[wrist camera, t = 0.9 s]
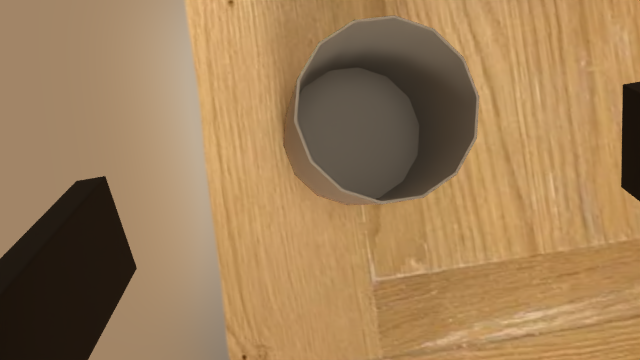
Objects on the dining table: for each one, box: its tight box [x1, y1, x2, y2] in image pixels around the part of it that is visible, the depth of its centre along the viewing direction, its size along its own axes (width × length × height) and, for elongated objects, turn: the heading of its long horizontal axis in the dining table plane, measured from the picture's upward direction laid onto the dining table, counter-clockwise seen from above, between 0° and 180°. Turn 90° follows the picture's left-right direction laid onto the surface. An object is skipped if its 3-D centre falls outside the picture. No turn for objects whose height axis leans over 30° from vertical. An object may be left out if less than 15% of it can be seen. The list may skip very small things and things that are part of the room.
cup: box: [284, 15, 479, 205], centre depth 31 cm, size 8×8×10 cm
